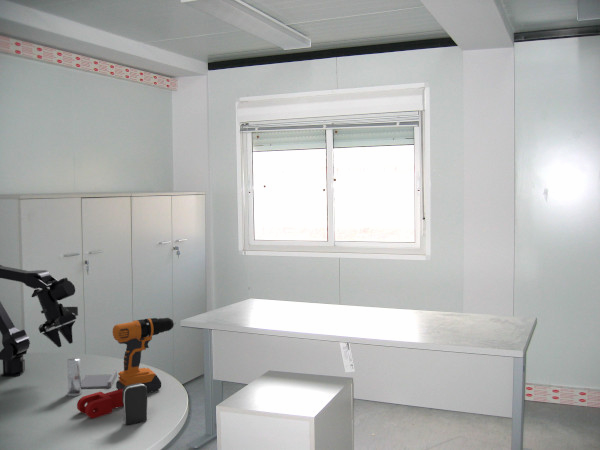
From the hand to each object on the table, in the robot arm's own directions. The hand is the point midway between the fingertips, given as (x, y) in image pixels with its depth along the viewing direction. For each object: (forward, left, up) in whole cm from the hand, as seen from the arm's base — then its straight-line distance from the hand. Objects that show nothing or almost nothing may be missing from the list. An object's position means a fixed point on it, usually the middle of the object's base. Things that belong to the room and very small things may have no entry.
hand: (65, 345), depth 212 cm
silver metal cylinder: (+6, -15, -13) cm, 20 cm away
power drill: (+29, -13, -13) cm, 34 cm away
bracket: (+11, -4, -13) cm, 17 cm away
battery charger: (+29, -39, -13) cm, 50 cm away
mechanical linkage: (+19, -29, -13) cm, 37 cm away
